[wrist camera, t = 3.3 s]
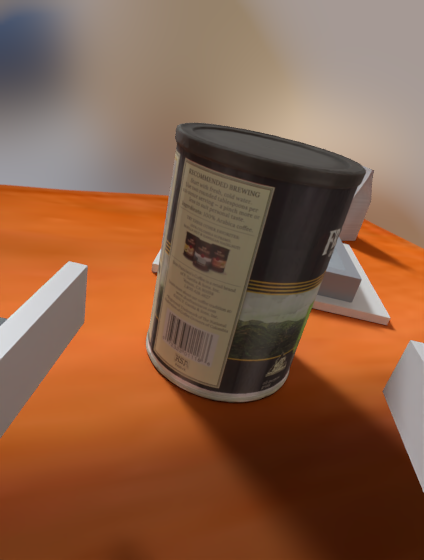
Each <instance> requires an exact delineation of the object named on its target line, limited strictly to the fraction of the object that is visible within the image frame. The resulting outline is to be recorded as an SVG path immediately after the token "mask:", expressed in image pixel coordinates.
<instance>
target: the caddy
mask: <svg viewBox="0 0 424 560" xmlns="http://www.w3.org/2000/svg"><path fill="white" fill-rule="evenodd" d="M160 254H161V250H160V251H159V253H158V255H157V257H156V258H155V260H154V262H153V264H152V271H153V272H157V273H158V267H159V259H160ZM312 308H314V309H318V310H322V311H327V312H331V313H335V314H340V315H344V316H348V317H353V318H357V319H362V320H366V321H370V322H375V323H379V324H383V325H387V324H388V322H389V320H390V316H389V314H388V313H387V311H386V309H385V307H384V306H383V304H382V302H381V300H380V299H379V297H378V295H377V293H376V292H375V290H374V288H373V286H372V285H371V283H370V281H369V279H368V278H367V276H366V274H365V272H364V270H363V269H362V267H361V265H360V263H359V262H358V260H357V258H356V256H355V255H354V253H353V251H352V249H351V248H350V246H349V245H348V244H344V243H342V241H341V239H340V238H339V237H338V240H337V243H336V245H335V248H334V251H333V254H332V256H331V259H330V262H329V264H328V267H327V269H326V272H325V275H324V277H323V280H322V282H321V285H320V288H319V290H318V293H317V296H316V298H315V301H314V303H313V306H312Z"/></svg>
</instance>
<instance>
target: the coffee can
mask: <svg viewBox="0 0 424 560" xmlns="http://www.w3.org/2000/svg"><path fill="white" fill-rule="evenodd" d="M175 139H176V142H177V148H176V155H175V161H174V168H173V174H172V181H171V188H170V193H169V200H168V207H167V213H166V220H165V227H164V233H163V240H162V247H161V254H160V259H159V267H158V274H157V281H156V286H155V293H154V300H153V307H152V313H151V320H150V326H149V330H148V332H147V338H146V348H147V352H148V355H149V358H150V359H151V361H152V363H153V364H154V366H155V367H156V368H157V370H158V371H159V372H160V373H161V374H162V375H164V376H165V377H166V378H167V379H168V380H170V381H171V382H172V383H174V384H175V385H177V386H178V387H180V388H182V389H184V390H186V391H188V392H190V393H193V394H195V395H198V396H201V397H205V398H208V399H211V400H216V401H226V402H248V401H253V400H258V399H261V398H264V397H267V396H269V395H271V394H273V393H274V392H276V391H277V390H278V389H279V388H280V387H281V386H282V385H283V384H284V382H285V381H286V379H287V377H288V374H289V370H290V366H291V363H292V360H293V357H294V354H295V352H296V349H297V346H298V344H299V341H300V338H301V336H302V333H303V330H304V327H305V325H306V322H307V320H308V317H309V314H310V312H311V309H312V306H313V303H314V301H315V298H316V296H317V293H318V290H319V288H320V285H321V282H322V280H323V277H324V275H325V272H326V269H327V267H328V264H329V262H330V259H331V256H332V254H333V251H334V248H335V245H336V243H337V240H338V237H339V235H340V233H341V230H342V227H343V224H344V222H345V219H346V216H347V214H348V211H349V209H350V206H351V203H352V200H353V197H354V195H355V192H356V190H357V187H358V186H359V185H360V184H361V183H362V181H363V179H364V176H365V174H366V170H365V168H364V167H363V166H362V165H360V164H359V163H357V162H355V161H353V160H351V159H349V158H346V157H344V156H342V155H339V154H336V153H333V152H330V151H327V150H325V149H321V148H317V147H315V146H311V145H308V144H304V143H301V142H297V141H293V140H289V139H285V138H281V137H278V136H274V135H269V134H264V133H260V132H255V131H250V130H245V129H239V128H234V127H228V126H221V125H214V124H206V123H185V124H180V125H178V126H177V128H176V136H175Z"/></svg>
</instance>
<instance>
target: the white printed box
mask: <svg viewBox="0 0 424 560" xmlns="http://www.w3.org/2000/svg"><path fill="white" fill-rule="evenodd" d="M363 167H364V166H363ZM364 168H365V170H366V174H365V176H364V179H363V181H362V183H361V184H360V185H359V186H358V187H357V190H356V192H355V195H354V197H353V200H352V203H351V206H350V209H349V211H348V214H347V216H346V219H345V222H344V224H343V227H342V230H341V233H340V235H339V238H340V239H341V241H355V240H356V237H357V235H358V232H359V230H360V227H361V225H362V223H363V220H364V217H365V215H366V213H367V210H368V207H369V205H370V203H371V192H372V178H373V173H374V170H372V169H369V168H366V167H364Z"/></svg>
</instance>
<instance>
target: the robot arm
mask: <svg viewBox="0 0 424 560" xmlns="http://www.w3.org/2000/svg"><path fill="white" fill-rule="evenodd" d="M87 268H88V266H87V265H83V264H79V263H74V262H70V261H69V262H68V263H66V264H65V265H64V266H63V267H62V268H61V269H60V270H59V271H58V272H57V273H56V274H55V275H54V276H53V277H52V278H51V279H50V280H48V281H47V282H46V283H45V284H44V285H43V286H42V287H41V288H40V289H39V290H38V291H37V292H36V293H35V294H34V295H33V296H32V297H31V298H29V299H28V300H27V301H26V302H25V303H24V304H23V305H22V306H21V307H20V308H19V309H18V310H17V311H16V312H15V313H14V314H13V315H11V316H10V317H9V318H8V319H5V318H1V317H0V438H1V437H2V435H3V434H4V433H5V431H6V430H7V428H8V427H9V426H10V424H11V423H12V421H13V420H14V419H15V417H16V416H17V415H18V413H19V412H20V410H21V409H22V408H23V406H24V405H25V403H26V402H27V401H28V399H29V398H30V397H31V395H32V394H33V392H34V391H35V390H36V388H37V387H38V386H39V384H40V383H41V381H42V380H43V379H44V377H45V376H46V374H47V373H48V372H49V370H50V369H51V368H52V366H53V365H54V363H55V362H56V361H57V359H58V358H59V356H60V355H61V354H62V352H63V351H64V350H65V348H66V347H67V345H68V344H69V343H70V341H71V340H72V339H73V337H74V336H75V334H76V333H77V332H78V330H79V329H80V327H81V326H82V325H83V323H84V317H85V301H86V284H87ZM383 393H384V396H385V398H386V401H387V403H388V406H389V408H390V411H391V413H392V416H393V418H394V421H395V423H396V426H397V428H398V430H399V433H400V435H401V438H402V440H403V443H404V445H405V448H406V450H407V453H408V455H409V458H410V460H411V463H412V465H413V467H414V470H415V472H416V475H417V477H418V480H419V482H420V485H421V487H422V490H423V492H424V343H421V342H416V341H412V340H410V342H409V344H408V346H407V347H406V349H405V351H404V353H403V355H402V357H401V358H400V360H399V362H398V364H397V366H396V368H395V369H394V371H393V373H392V375H391V377H390V379H389V380H388V382H387V384H386V386H385V388H384V390H383Z"/></svg>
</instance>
